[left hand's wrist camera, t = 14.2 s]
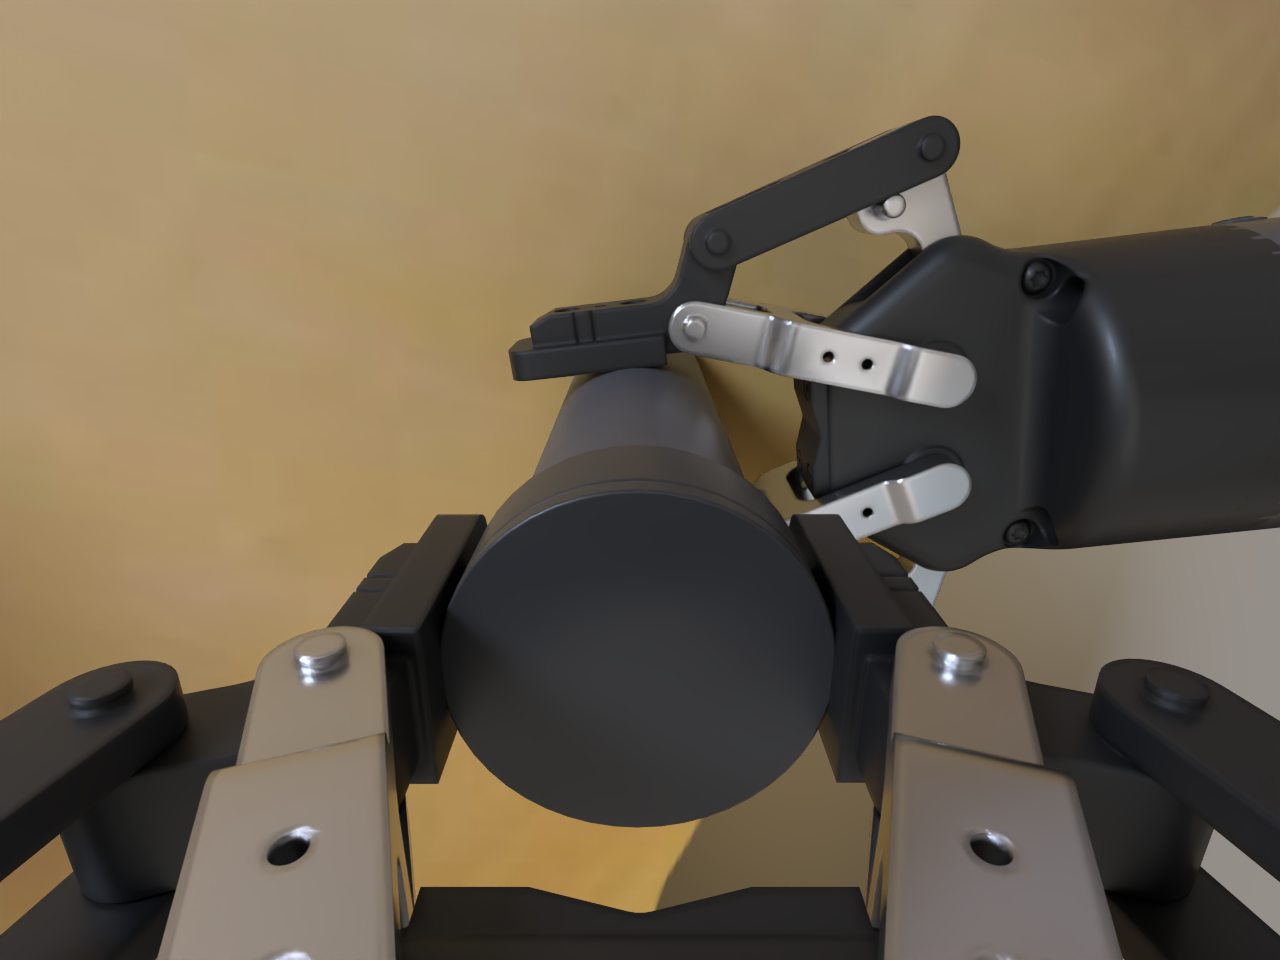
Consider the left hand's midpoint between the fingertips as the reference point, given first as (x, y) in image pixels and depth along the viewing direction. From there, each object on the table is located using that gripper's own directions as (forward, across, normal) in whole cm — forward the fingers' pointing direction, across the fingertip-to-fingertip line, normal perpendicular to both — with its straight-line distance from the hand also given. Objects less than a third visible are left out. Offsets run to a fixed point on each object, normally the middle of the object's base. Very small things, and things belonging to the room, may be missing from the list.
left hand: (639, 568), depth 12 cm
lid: (-3, 0, 0) cm, 3 cm away
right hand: (+7, -3, 0) cm, 7 cm away
